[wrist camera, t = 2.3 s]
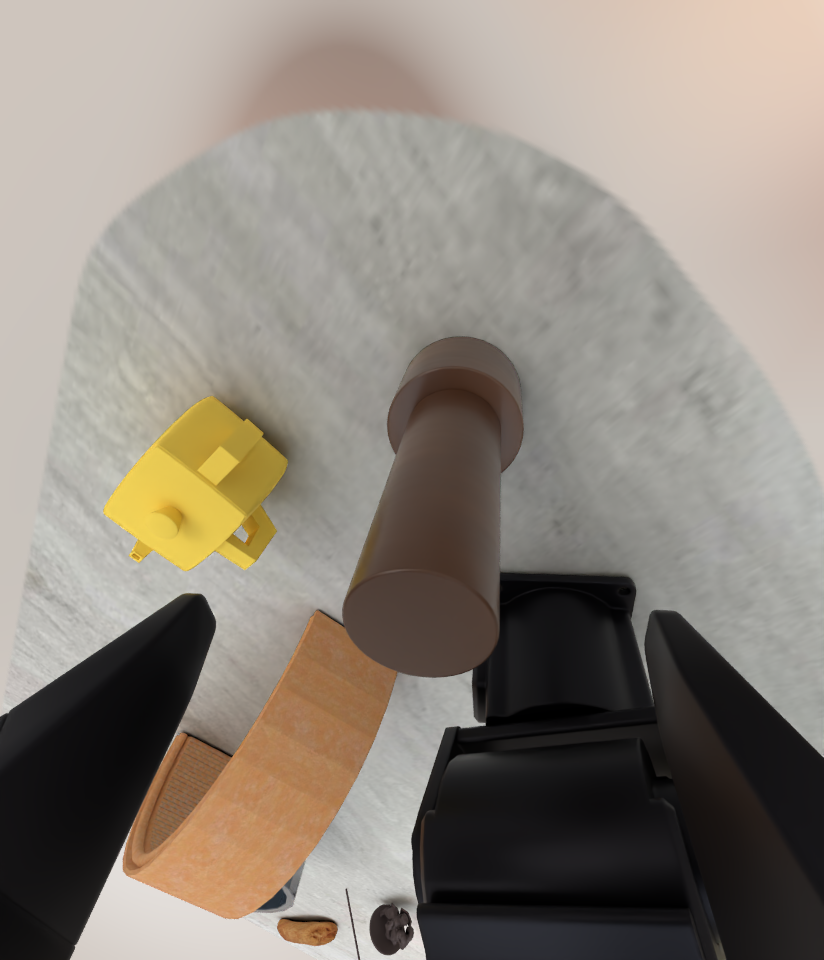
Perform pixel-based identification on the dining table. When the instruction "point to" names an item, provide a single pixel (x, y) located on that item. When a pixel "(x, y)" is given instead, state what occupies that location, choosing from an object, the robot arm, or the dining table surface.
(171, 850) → the arch
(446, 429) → the muddler
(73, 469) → the dining table surface
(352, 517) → the dining table surface
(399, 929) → the dark disc and stick
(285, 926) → the brown rounded lump
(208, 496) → the teapot
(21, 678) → the dining table surface
